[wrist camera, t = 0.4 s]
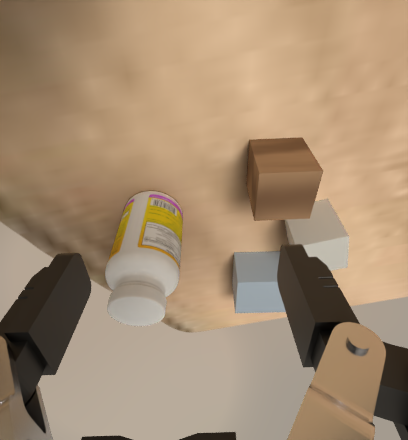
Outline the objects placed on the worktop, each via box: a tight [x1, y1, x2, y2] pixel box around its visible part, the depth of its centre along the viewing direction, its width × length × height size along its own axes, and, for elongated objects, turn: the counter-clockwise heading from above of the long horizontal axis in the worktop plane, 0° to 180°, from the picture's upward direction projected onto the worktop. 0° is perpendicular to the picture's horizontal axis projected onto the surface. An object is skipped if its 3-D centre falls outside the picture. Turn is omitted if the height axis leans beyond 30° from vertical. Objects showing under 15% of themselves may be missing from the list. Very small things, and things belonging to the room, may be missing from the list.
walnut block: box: [246, 138, 323, 221], centre depth 26 cm, size 5×5×6 cm
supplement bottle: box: [105, 191, 183, 326], centre depth 27 cm, size 7×7×13 cm
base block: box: [232, 251, 286, 313], centre depth 37 cm, size 7×7×5 cm
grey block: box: [285, 199, 349, 271], centre depth 31 cm, size 5×5×6 cm
